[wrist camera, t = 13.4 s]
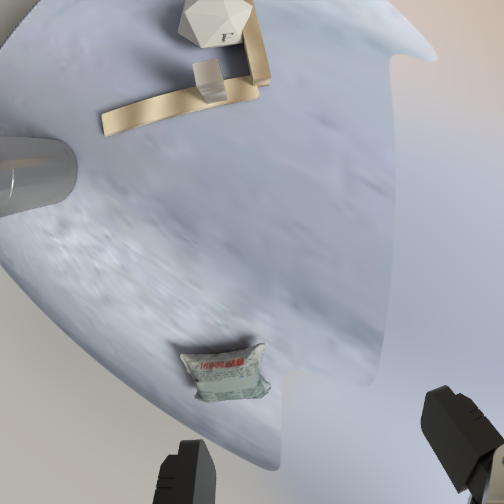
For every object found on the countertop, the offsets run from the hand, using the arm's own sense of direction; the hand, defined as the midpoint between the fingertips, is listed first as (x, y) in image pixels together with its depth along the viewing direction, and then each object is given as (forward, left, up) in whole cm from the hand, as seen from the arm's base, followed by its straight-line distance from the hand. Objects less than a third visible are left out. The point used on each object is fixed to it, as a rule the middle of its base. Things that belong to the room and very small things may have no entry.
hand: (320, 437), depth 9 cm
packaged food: (-9, -18, -33) cm, 38 cm away
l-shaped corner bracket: (-7, +26, -32) cm, 42 cm away
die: (-1, +28, -33) cm, 43 cm away
